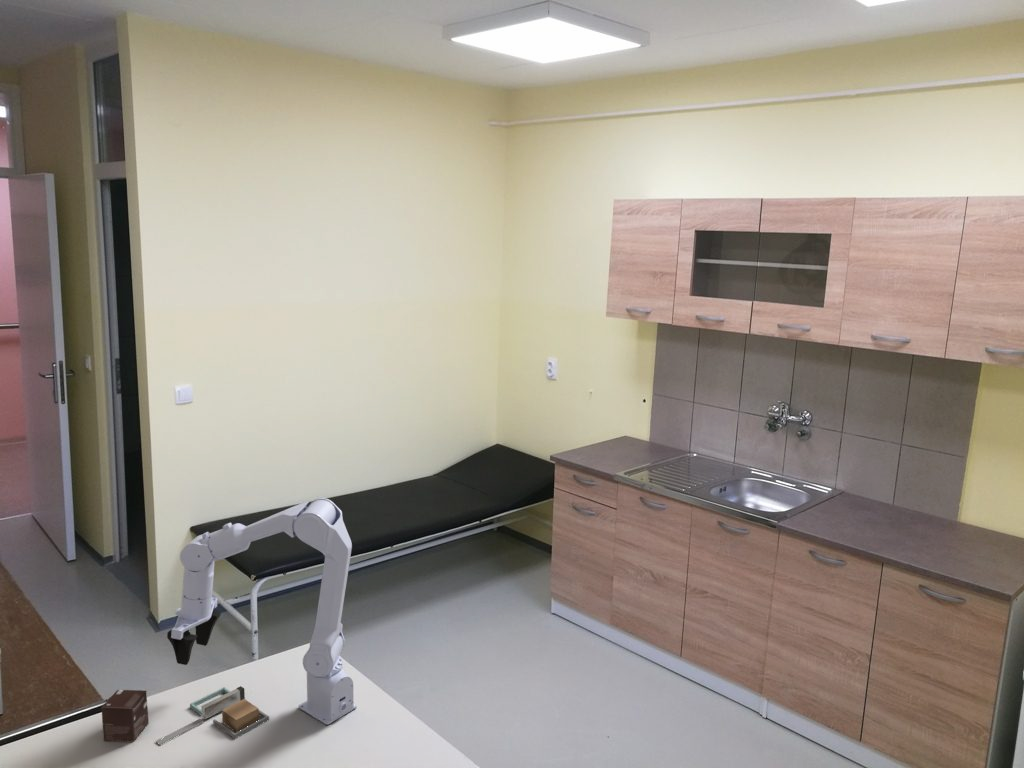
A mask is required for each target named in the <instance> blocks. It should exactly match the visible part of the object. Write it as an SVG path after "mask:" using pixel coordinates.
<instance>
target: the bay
mask: <svg viewBox="0 0 1024 768" xmlns="http://www.w3.org/2000/svg"><path fill="white" fill-rule="evenodd" d="M231 691H232V690H230V689H228V688H226V687H221V688H219V689H218V690H215V691H214V692H211V693H210V694H207V695H205V696H203V697H202V698H200V699H199V698H198V699H197V700H195V701H193V702H191V703H190V704H189V707H190V708H191V709H192V710H194V711H195V712H196V713H198V715H200V716H202V710H201V708H200V707H198V705H200V704H203V703H205V702H206V701H209V700H211V699H214V698H215V697H217V696H218V695H221V694H223V693H224V694H227V693H229V692H231Z"/></svg>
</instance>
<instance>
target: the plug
mask: <svg viewBox="0 0 1024 768" xmlns="http://www.w3.org/2000/svg"><path fill="white" fill-rule="evenodd" d="M259 710H260V709H259V708H258V707H257V706H256V705H254V704H253V703H251V702H250V701H248V700H247V699H246V698H245V699H243V700H241V701H239V702H237V703H235V704H233V705H231V706H229V707H227V708H225V709H223V710H222V711H221V717H222V718H221V720H222V722H223V724H224V723H225V724H226V725H225V724H224V725H225V726H227V727H228V726H229V727H230V728H229V727H228V728H229V729H230V730H232V729H233V730H232V731H233V732H234V733H236V732H239V731H240V730H242V729H244V728H246V727H247V726H250V725H251V724H253V723H255V722H256V721H258V720H260V719H259V718H260V716H259Z"/></svg>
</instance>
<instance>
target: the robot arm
mask: <svg viewBox="0 0 1024 768" xmlns="http://www.w3.org/2000/svg"><path fill="white" fill-rule="evenodd" d="M307 505H308V506H307ZM279 533H285V534H287V535H288V536H289V537H290V538H294V537H297V538H298V539H299V540H300V541H301V542H303V543H305V544H306V545H308V546H309V547H312V548H313V549H316V550H317V551H319V552H321V553H322V554H323V556H324V563H323V568H322V576H321V581H320V583H321V584H320V590H319V598H318V605H317V609H316V610H317V611H316V612H317V613H316V619H315V625H314V630H313V633H312V636H311V639H310V642H309V647H308V650H307V651H306V652H305V654H304V655H303V658H302V666H303V668H304V671H305V672H306V699H307V700H305V701H303V702H301V703H300V704H298V709H300V710H301V711H303V712H305V713H306V714H308V715H310V716H311V717H314V718H315V719H316V720H318V721H320V722H321V723H323V724H324V725H330V724H332V723H334V722H335V721H337V720H338V719H340V718H341V717H343V716H345V715H347V714H348V713H350V712H351V711H353V710H355V709H356V708H357V706H358V705H357V704H356V703H355V702H354V681H353V679H352V678H351V676H349V675H348V674H347V672H346V671H345V670H344V666H343V661H342V657H341V652H342V651H343V649H344V647H345V644H346V641H345V640H346V639H345V636H344V634H343V625H344V624H343V623H341V622H342V616H343V608H344V603H345V602H344V601H345V594H346V588H347V582H348V576H349V575H348V574H349V569H350V562H351V554H352V549H353V544H352V540H351V537H350V535H349V533H348V530H347V527H346V524H345V522H344V519H343V511H342V509H341V508H339V507H338V506H337V505H336V503H334V501H332V500H331V499H328V498H325V497H319V498H316V499H314V500H313V501H311V502H310V501H305V502H304V501H303V502H301V503H299V504H296V505H294V506H292V507H289V508H287V509H284V510H282V511H279V512H277V513H275V514H274V513H273V514H272V515H270V516H268V517H265V518H263V519H259V520H258V521H255V522H253V523H251V524H249V525H244V524H243V523H237V522H236V523H234V524H233V523H232V522H228V523H225V524H224V525H222V528H221V529H218V530H216V531H212V532H209V531H206V532H204V533H203V534H199V535H198V536H196V537H195V538H193V539H192V540H191V541H190V542H188V543H187V544H186V545H185V546H184V547H183V548H182V550H181V552H180V554H179V560H180V562H181V564H182V566H183V579H182V588H181V589H182V591H181V592H182V593H181V603H180V604H181V605H180V607H178V608H177V609H176V610H175V612H174V613H175V615H176V616H177V619H176V622H175V625H174V626H173V628H171V629H170V630H169V631H168V632H167V635H166V636H167V637H166V638H167V640H168V641H169V642H170V644H171V646H172V648H173V651H174V655H175V660H176V663H177V664H179V665H184V666H187V665H188V664H189V662H190V659H191V655H192V651H193V650H192V649H193V646H194V644H195V643H196V644H197V645H200V646H205V647H206V646H208V644H209V641H210V637H211V635H212V632H213V630H214V627H215V624H216V623H217V621H218V619H219V618H220V616H221V613H222V612H221V611H220V610H219V609H216V608H217V607H218V597H214V596H213V589H214V577H215V576H214V575H215V562H217V561H220V560H221V561H222V560H224V559H225V558H228V557H231V556H235V555H236V554H239V553H241V552H245V551H247V550H248V549H249V548H250V545H251V542H255V541H257V540H258V541H259V540H261V539H264V538H268V537H270V536H273V535H276V534H279ZM194 628H195V634H192V633H191V631H190V630H191V629H194Z"/></svg>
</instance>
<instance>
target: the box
mask: <svg viewBox="0 0 1024 768" xmlns="http://www.w3.org/2000/svg"><path fill="white" fill-rule="evenodd" d="M147 696H148V695H147V690H142V689H141V690H133V689H131V690H130V689H117V690H116V691H115V692H114V693H113V694H112V695H111V696H110V697H109V698H108V699H107V701H106V702H104V704H103V705H102V706H101V719H102V733H103V741H105V742H128V743H132V742H133V743H134V742H135V741H136V740H137V739H138V738H137V737H140V735H141V734H142V733H143V731H145V730H146V728H147V726H148V725H149V712H148V711H149V710H148V708H149V707H148V697H147ZM145 727H146V728H145ZM141 732H142V733H141Z"/></svg>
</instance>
